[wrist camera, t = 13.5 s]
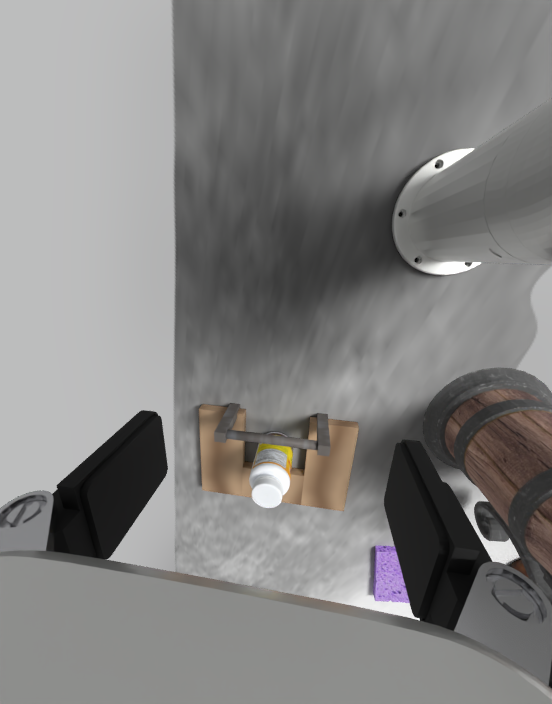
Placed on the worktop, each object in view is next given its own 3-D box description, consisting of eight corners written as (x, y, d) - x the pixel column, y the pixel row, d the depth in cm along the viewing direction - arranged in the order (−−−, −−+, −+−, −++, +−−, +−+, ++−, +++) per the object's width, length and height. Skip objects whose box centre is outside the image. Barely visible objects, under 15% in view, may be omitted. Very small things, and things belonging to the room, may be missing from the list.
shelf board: (358, 418, 41) (367, 451, 34) (342, 503, 46) (348, 547, 39) (202, 400, 43) (180, 427, 36) (205, 483, 49) (187, 521, 42)
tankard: (428, 369, 37) (546, 483, 18) (571, 365, 35) (873, 492, 16) (414, 503, 45) (489, 681, 26) (531, 507, 42) (706, 708, 23)
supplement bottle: (283, 464, 45) (275, 520, 36) (253, 448, 45) (237, 500, 36) (300, 440, 43) (296, 492, 34) (269, 424, 43) (256, 471, 34)
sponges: (372, 589, 53) (374, 601, 51) (374, 541, 49) (376, 552, 47) (411, 592, 52) (414, 604, 50) (416, 544, 48) (420, 555, 46)
